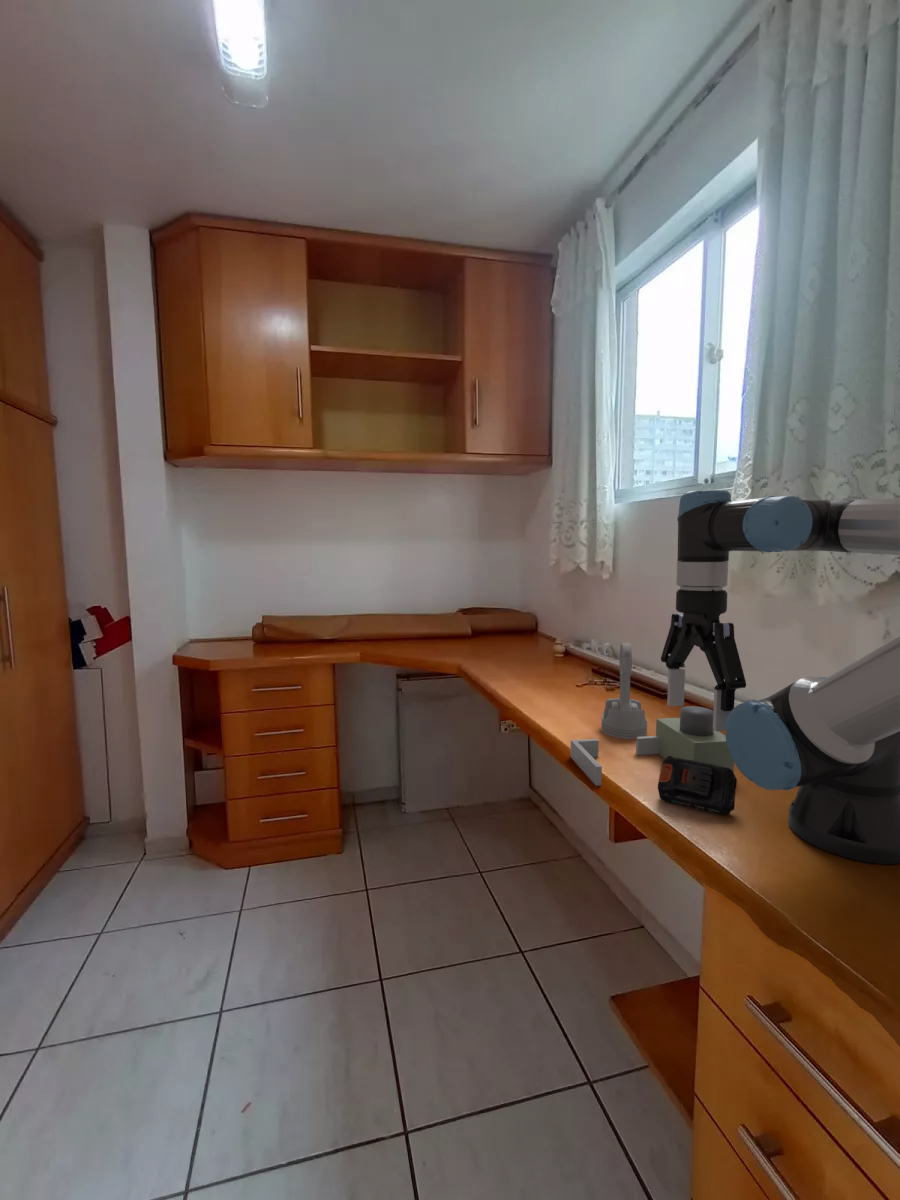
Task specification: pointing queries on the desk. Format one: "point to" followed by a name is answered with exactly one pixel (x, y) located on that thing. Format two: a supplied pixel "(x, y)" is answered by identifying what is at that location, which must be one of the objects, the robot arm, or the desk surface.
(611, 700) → the engine component
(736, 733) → the robot arm
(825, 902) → the desk surface
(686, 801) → the battery
